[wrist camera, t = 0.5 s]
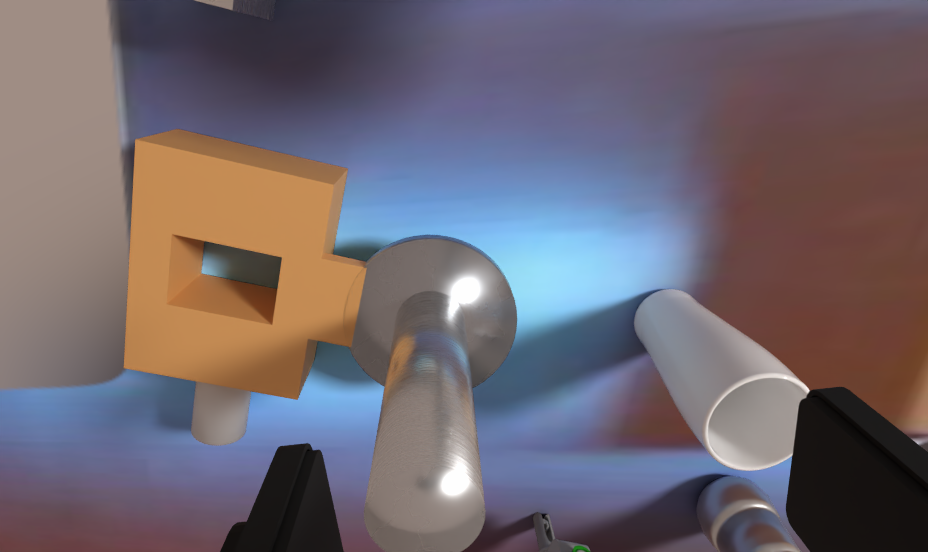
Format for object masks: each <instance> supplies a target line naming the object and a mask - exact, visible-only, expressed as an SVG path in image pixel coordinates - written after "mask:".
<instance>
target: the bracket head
mask: <svg viewBox="0 0 928 552" xmlns="http://www.w3.org/2000/svg"><path fill="white" fill-rule="evenodd" d="M347 172H348V168H343V167H339V166H335V165H331V164H326V163H322V162H318V161H313V160H309V159H305V158H301V157H296V156H292V155H288V154H283V153H279V152H275V151H271V150H266V149H262V148H258V147H253V146H249V145H245V144H241V143H236V142H232V141H228V140H223V139H219V138H215V137H210V136H206V135H202V134H198V133H193V132H189V131H185V130H180V129H175V130H171V131H167V132H163V133H159V134H155V135H151V136H147V137H143V138H139V139H135V157H134V177H133V197H132V216H131V236H130V256H129V275H128V296H127V315H126V334H125V354H124V368H126V369H131V370H137V371H142V372H148V373H153V374H159V375H164V376H170V377H175V378H181V379H186V380H192V381H196V387H195V397H194V407H193V417H192V427H191V433H192V435H193V437H194V438H195V439H196V440H198V441H199V442H202V443H204V444H208V445H227V444H231V443H233V442H236V441H238V440H239V439H241V438H242V437H243V436H244V434H245V432H246V426H247V419H248V411H249V404H250V397H251V391H252V392H258V393H263V394H269V395H274V396H280V397H285V398H291V399H296V400H298V398H299V395H300V393H301V390H302V388H303V386H304V383H305V381H306V378H307V376H308V374H309V371H310V369H311V367H312V364H313V362H314V359H315V354H316V348H317V342H318V341H322V342H327V343H332V344H338V345H343V346H348V347H351V345H352V340H353V335H354V330H355V325H356V320H357V315H358V310H359V304H360V298H361V295H362V290H363V284H364V280H365V279H364V278H365V276H364V275H366V270H367V268H364V266H365V263H366V262H365V261H361V260H356V259H351V258H347V257H342V256H337V255H333V251H334V246H335V240H336V234H337V229H338V223H339V217H340V212H341V206H342V200H343V195H344V189H345V183H346V177H347ZM204 241H207V242H212V243H216V244H221V245H226V246H231V247H235V248H240V249H245V250H250V251H254V252H259V253H264V254H268V255H273V256H278V257H282V262H281V268H280V275H279V282H278V289H274V288H269V287H265V286H260V285H255V284H250V283H245V282H240V281H235V280H230V279H225V278H221V277H216V276H211V275H206V274H201V270H202V260H203V249H204ZM361 270H362V271H361ZM363 271H364V272H363ZM360 272H361V273H360ZM357 277H358V278H357ZM359 277H360V278H359ZM355 278H356V279H355ZM362 278H363V279H362ZM361 281H362V282H361ZM352 284H353V285H352ZM358 284H359V285H358ZM352 288H353V289H352ZM359 291H360V292H359ZM349 292H350V293H349ZM352 292H353V293H352ZM360 293H361V294H360ZM348 295H349V296H348ZM355 295H356V296H355ZM357 297H359V298H357ZM348 298H349V299H348ZM347 299H348V300H347ZM351 299H352V300H351ZM353 299H354V300H353ZM358 299H359V300H358ZM347 301H348V302H347ZM349 301H350V302H349ZM345 302H346V303H345ZM355 302H356V303H355ZM347 303H348V304H347ZM344 304H346V305H344ZM349 305H350V306H349ZM351 305H352V306H351ZM354 306H355V307H354ZM346 307H348V308H346ZM356 307H358V308H356ZM344 308H345V309H346V310H345V309H344ZM348 309H349V310H348ZM351 309H352V310H351ZM343 311H344V312H343ZM351 311H352V312H351ZM343 313H344V314H343ZM350 313H351V314H350ZM345 315H347V316H345ZM352 316H353V317H352ZM344 317H345V318H344ZM351 317H352V318H351ZM355 317H356V318H355ZM353 318H354V319H353ZM343 319H344V320H343ZM347 319H348V320H347ZM343 322H344V324H343ZM343 326H344V327H346V328H343ZM345 329H346V330H347V331H346V330H345ZM348 329H349V330H348ZM350 329H351V330H352V331H351V332H350ZM347 334H348V335H347ZM351 334H352V335H351ZM349 335H350V336H349ZM347 336H348V337H347ZM351 336H352V337H351ZM346 340H347V341H346ZM347 343H348V344H347Z"/></svg>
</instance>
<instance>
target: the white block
mask: <svg viewBox="0 0 928 552" xmlns="http://www.w3.org/2000/svg"><path fill="white" fill-rule="evenodd" d="M194 1H198V2H202V3H206V4H209V5H213V6H217V7H221V8H225V9H229V10H232V11H236V12H240V13H244V14H248V15H252V16H255V17H259V18H263V19H267V20H271V21H273V16H274V8H275V0H194Z"/></svg>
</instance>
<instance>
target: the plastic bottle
mask: <svg viewBox="0 0 928 552" xmlns="http://www.w3.org/2000/svg"><path fill="white" fill-rule="evenodd" d="M696 510H697V517H698V520H699V523H700V526H701V528H702V531H703V533H704V534H705V536H706V537H707V538H708V540H709V541H710V542H711V544H712V545H713V546H714V547H715V548H716V549H717V550H718V551H719V552H801V551H800V550H799V549H798V547H797V545H796V544H795V542H794V541H793V539H792V538H791V536H790V534H789V533H788V531H787V530H786V528H785V526H784V525H783V523H782V522H781V519H780V517H779V514H778V512H777V510H776V509H775V507H774V505H773V503H772V502H771V500H770V498H769V496H768V495H767V494H766V493H765V492H764V491H763V490H762V489H761V488H760V487H758V486H757V485H756V484H755V483H754V482H752V481H750V480H748V479H745V478H741V477H736V476H726V477H722V478H719V479H716V480H715V481H713V482H711V483H710V484H709V485H707V486H706V487H705V488H704V489H703V491H702V492H701V494H700V496H699V499H698V503H697V509H696Z"/></svg>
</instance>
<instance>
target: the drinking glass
mask: <svg viewBox="0 0 928 552" xmlns="http://www.w3.org/2000/svg"><path fill="white" fill-rule="evenodd" d="M634 328H635V332H636V334H637V336H638V338H639V340H640V341H641V342H642V344H643V345H644V346H645V348H646V350H647V352H648V354H649V356H650V357H651V359H652V361H653V363H654V365H655V367H656V369H657V371H658V373H659V375H660V376H661V378H662V380H663V382H664V384H665V386H666V388H667V390H668V392H669V394H670V396H671V398H672V400H673V401H674V403H675V405H676V407H677V409H678V410H679V412H680V414H681V415H682V417H683V419H684V420H685V422H686V423H687V425H688V426H689V428H690V429H691V430H692V432H693V433H694V434H695V436H696V437H697V438H698V440H699V441H700V442H701V444H702V445H703V446H704V447H705V449H706V450H707V451H708V452H709V454H710V455H711V456H712V457H713V458H714V459H715V460H716V461H718V462H719V463H721V464H723V465H724V466H727V467H729V468H732V469H737V470H744V471H752V470H761V469H765V468H769V467H772V466H774V465H777V464H779V463H781V462H783V461H785V460H786V459H788V458H789V457H791V456H792V455H793V447H794V439H795V432H796V424H797V416H798V408H799V403H800V401H801V400H802V399H804V398H806V396H807V394H808V393H809V391H810V390H809V389H808V388H807V386H806V385H804V384H803V383H802V382H801V381H800V380H799V379H798V378H797V377H796V376H795V375H794V374H793V373H792V372H791V371H790V370H789V369H788V368H787V367H786V366H785V365H784V364H783V363H782V362H781V361H779V360H778V359H777V358H776V357H775V356H774V355H772V354H771V353H770V352H769V351H767V350H766V349H765V348H763V347H762V346H761V345H759V344H758V343H756V342H755V341H754V340H752V339H751V338H749V337H748V336H746V335H745V334H743V333H742V332H740V331H739V330H737V329H736V328H734V327H733V326H731V325H730V324H728V323H727V322H725V321H724V320H722V319H721V318H720V317H718V316H717V315H715V314H714V313H712V312H711V311H709V310H708V309H706V308H705V307H704V306H702V305H701V304H699V303H698V302H697V301H696V300H695V299H694V298H693V297H692V296H690V295H689V294H687V293H685V292H683V291H680V290H676V289H665V290H660V291H657V292H655V293H653V294H651V295H650V296H648V297H647V298H646V299H645V300H644V301H643V302H642V303H641V304H640V305H639V307H638V309H637V311H636V314H635V318H634Z"/></svg>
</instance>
